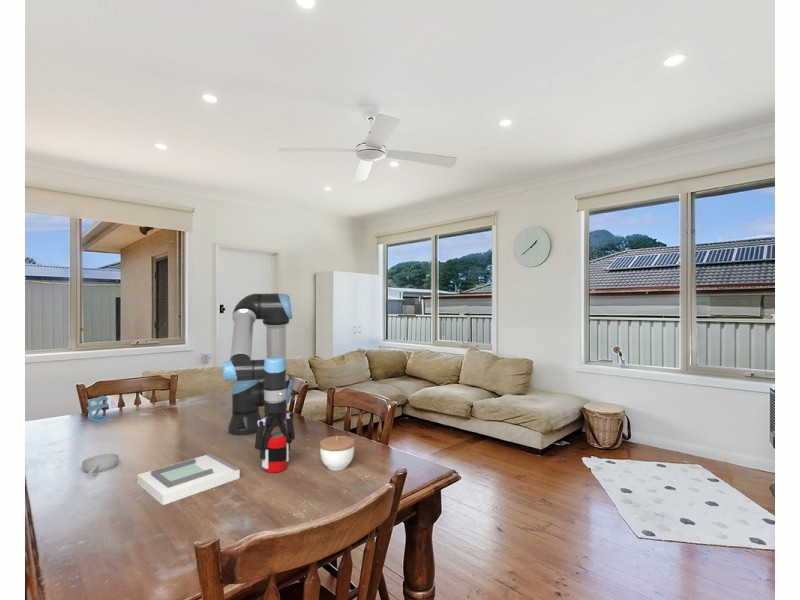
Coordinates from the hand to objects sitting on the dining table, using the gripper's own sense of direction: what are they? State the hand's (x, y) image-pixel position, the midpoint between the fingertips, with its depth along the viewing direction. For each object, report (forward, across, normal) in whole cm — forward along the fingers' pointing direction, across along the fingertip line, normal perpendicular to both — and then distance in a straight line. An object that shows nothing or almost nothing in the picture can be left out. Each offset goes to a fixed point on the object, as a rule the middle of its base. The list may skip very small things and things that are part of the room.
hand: (275, 463), depth 147 cm
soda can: (+2, 0, 0) cm, 2 cm away
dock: (+2, -24, +14) cm, 28 cm away
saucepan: (+2, -42, +46) cm, 62 cm away
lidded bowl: (+2, +16, -15) cm, 22 cm away
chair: (+3, -24, +124) cm, 126 cm away
